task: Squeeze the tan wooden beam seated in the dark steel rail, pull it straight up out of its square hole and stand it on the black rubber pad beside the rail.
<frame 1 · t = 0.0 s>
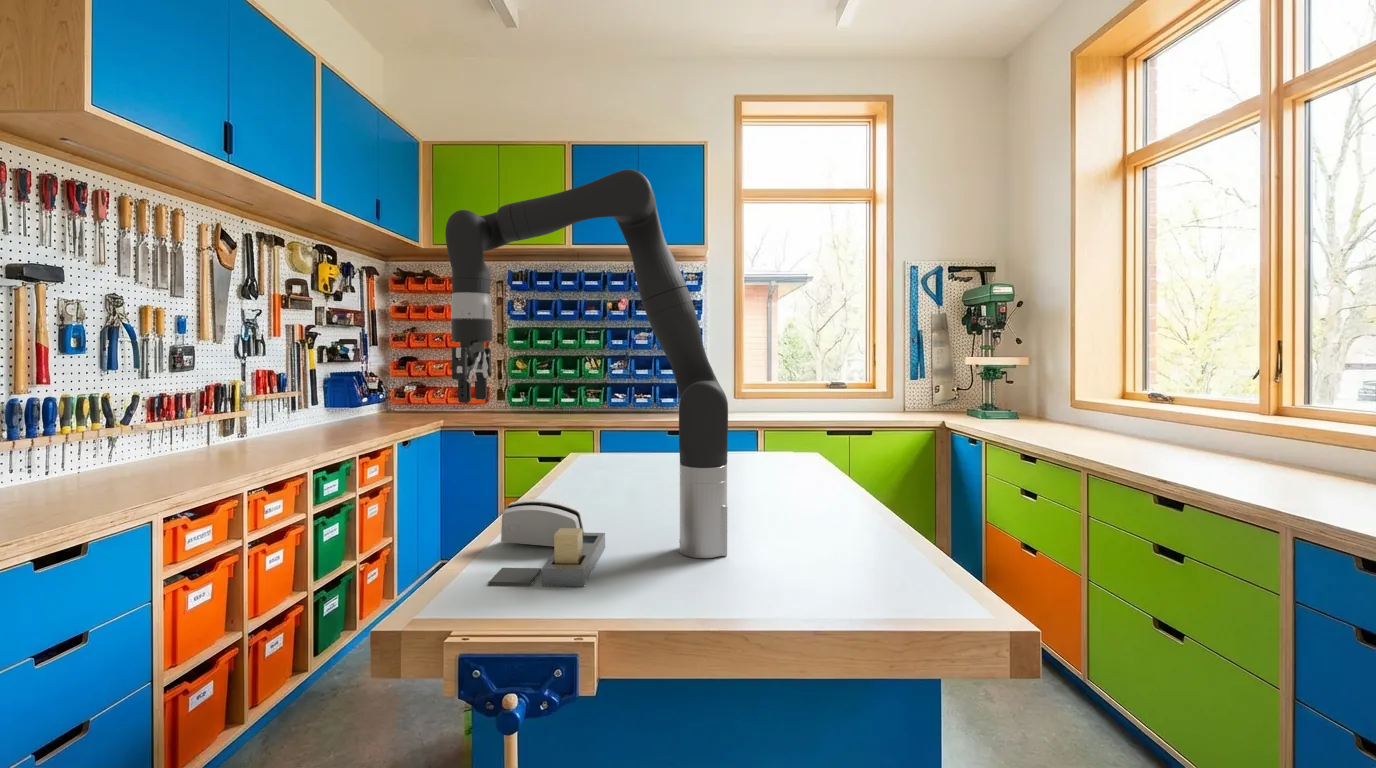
hand: (473, 400, 124), 29 cm above the workbench, tool pointing down, fingers open, 8 cm apart
tan wooden beam: (569, 577, 110), resting in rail
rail: (576, 565, 116), on the workbench
white arched device: (542, 544, 126), point 1 cm above the workbench, touching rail
pad: (515, 578, 109), on the workbench
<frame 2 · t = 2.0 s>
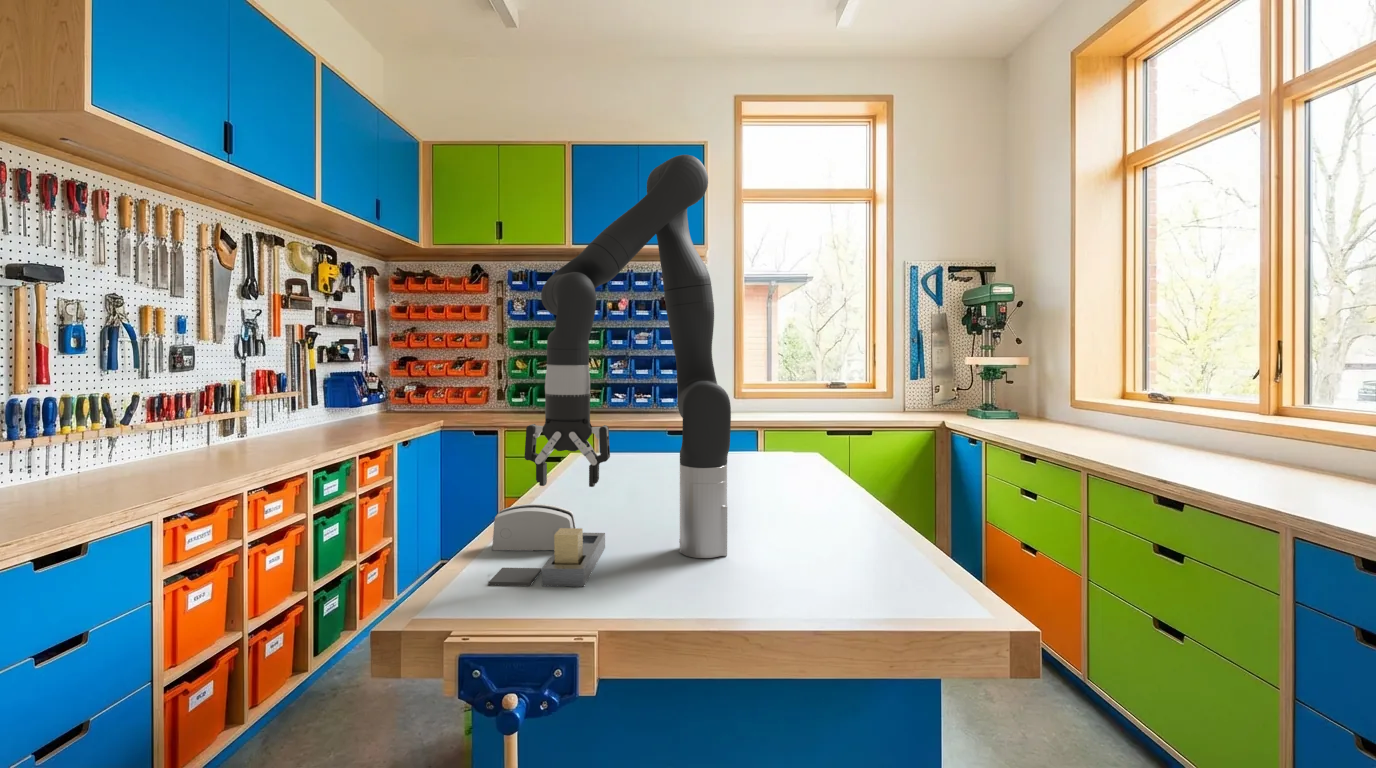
hand: (567, 485, 109), 16 cm above the workbench, tool pointing down, fingers open, 8 cm apart
white arched device: (534, 550, 126), on the workbench, touching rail
everything else where it was.
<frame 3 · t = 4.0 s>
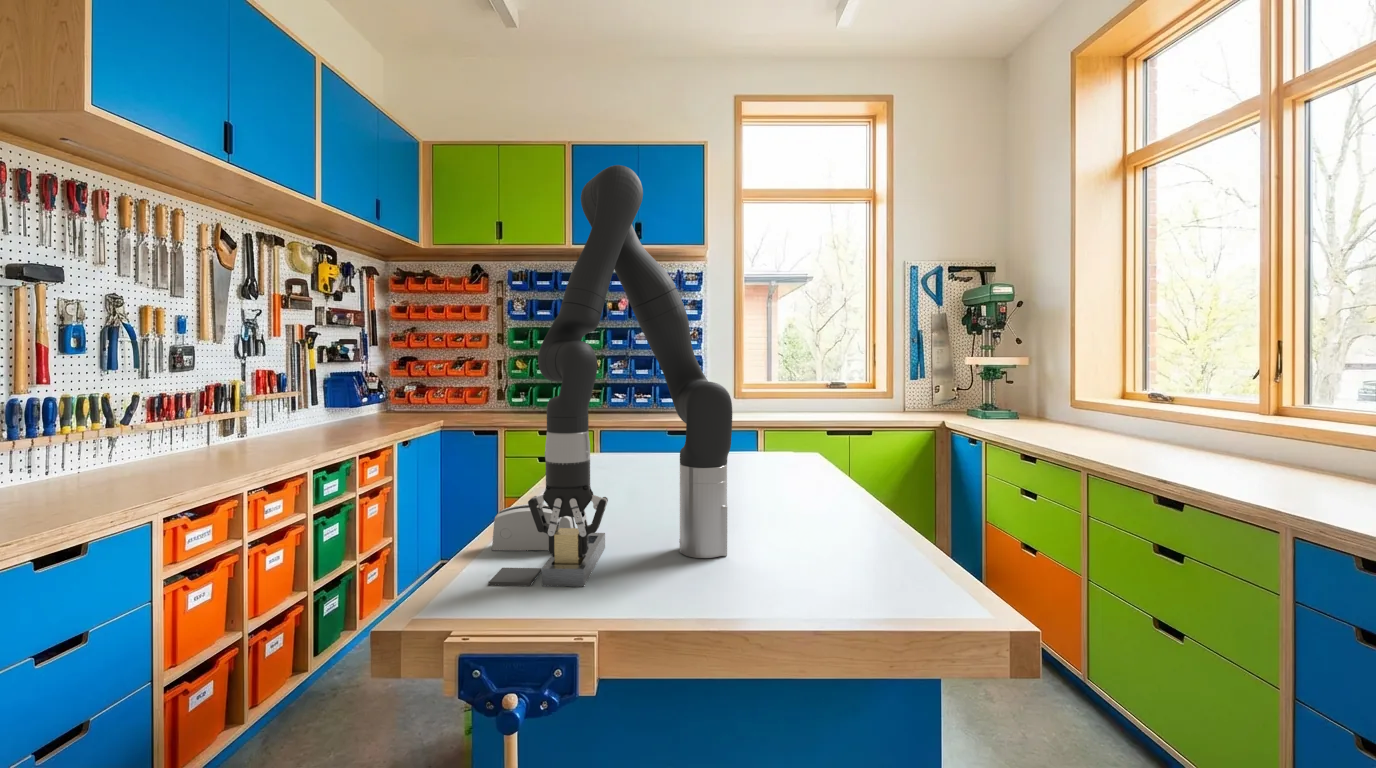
hand: (568, 555, 110), 4 cm above the workbench, tool pointing down, fingers closed on tan wooden beam, 4 cm apart
tan wooden beam: (569, 577, 110), resting in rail, touching gripper
everything else where it was.
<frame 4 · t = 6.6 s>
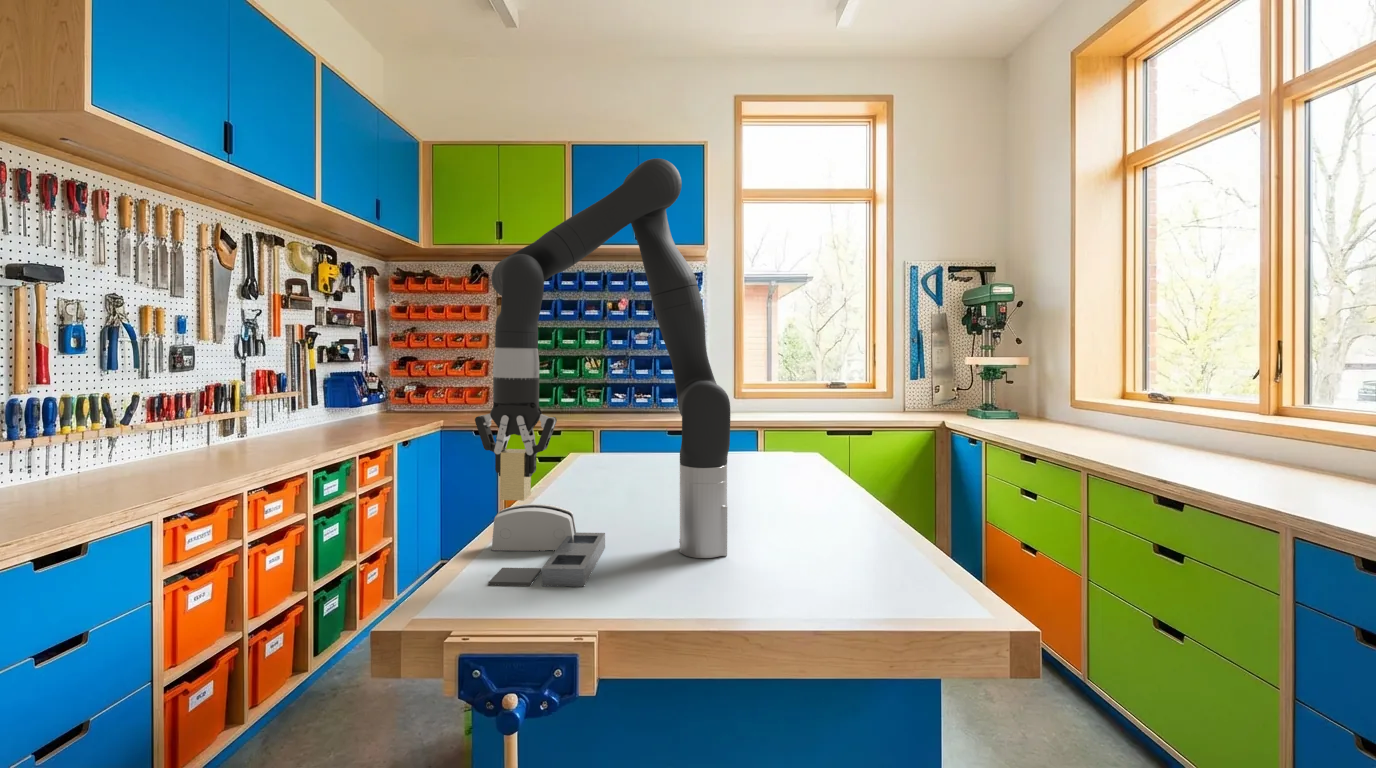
hand: (515, 475, 108), 18 cm above the workbench, tool pointing down, fingers closed on tan wooden beam, 4 cm apart
tan wooden beam: (515, 497, 108), point 14 cm above the workbench, touching gripper
everything else where it was.
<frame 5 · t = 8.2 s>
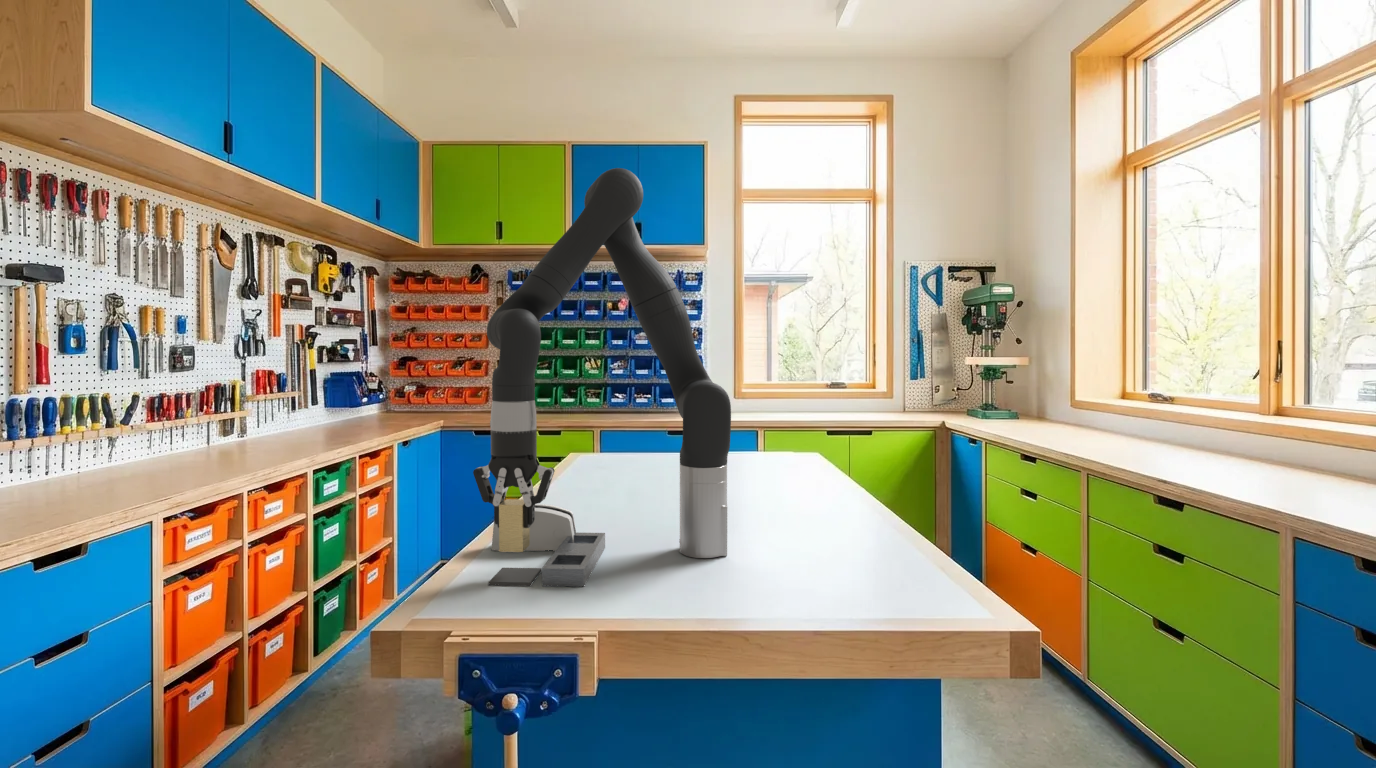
hand: (514, 526, 109), 9 cm above the workbench, tool pointing down, fingers closed on tan wooden beam, 4 cm apart
tan wooden beam: (514, 548, 109), point 5 cm above the workbench, touching gripper
everything else where it was.
when the fingers open (6 cm above the workbench, at t = 9.2 s): tan wooden beam drops 1 cm, resting on pad.
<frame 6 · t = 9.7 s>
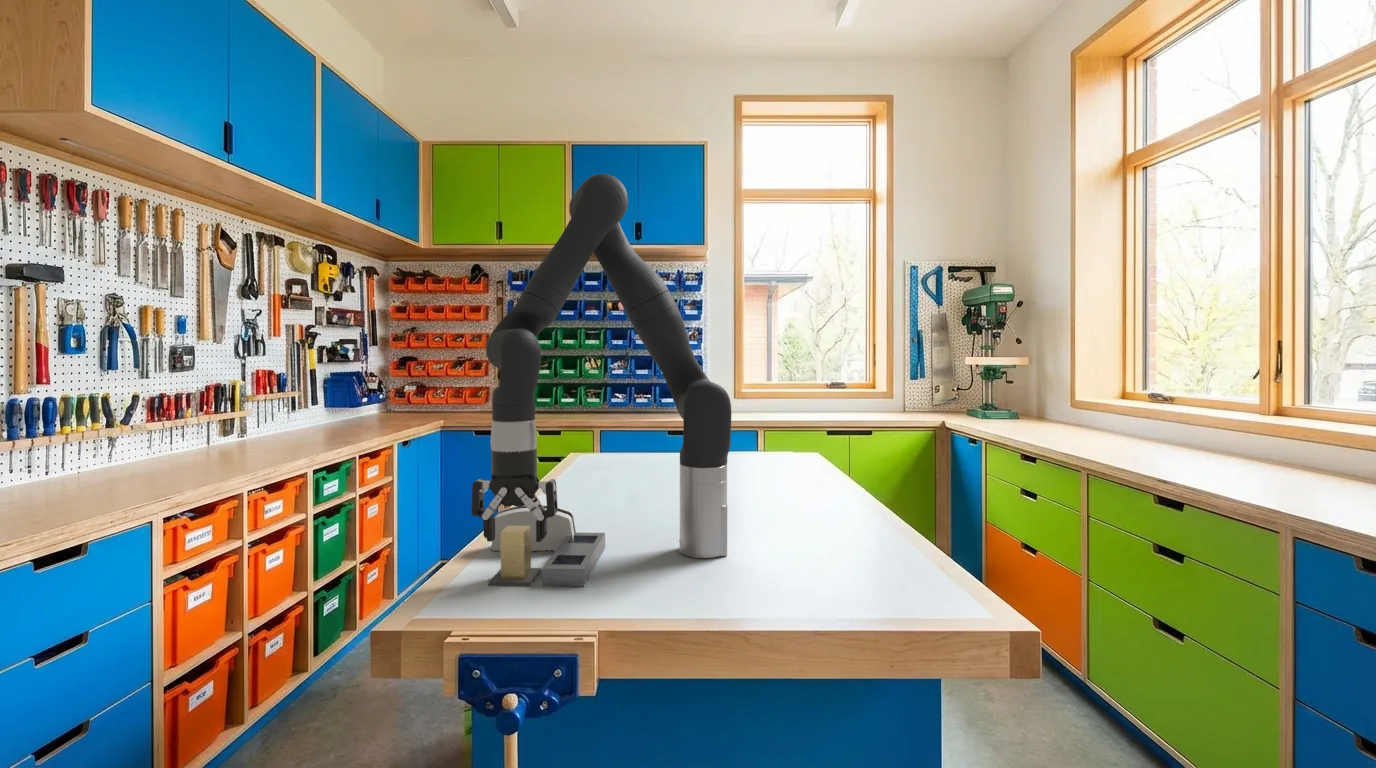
hand: (515, 540, 109), 7 cm above the workbench, tool pointing down, fingers open, 8 cm apart
tan wooden beam: (516, 574, 109), point 1 cm above the workbench, touching pad
everything else where it was.
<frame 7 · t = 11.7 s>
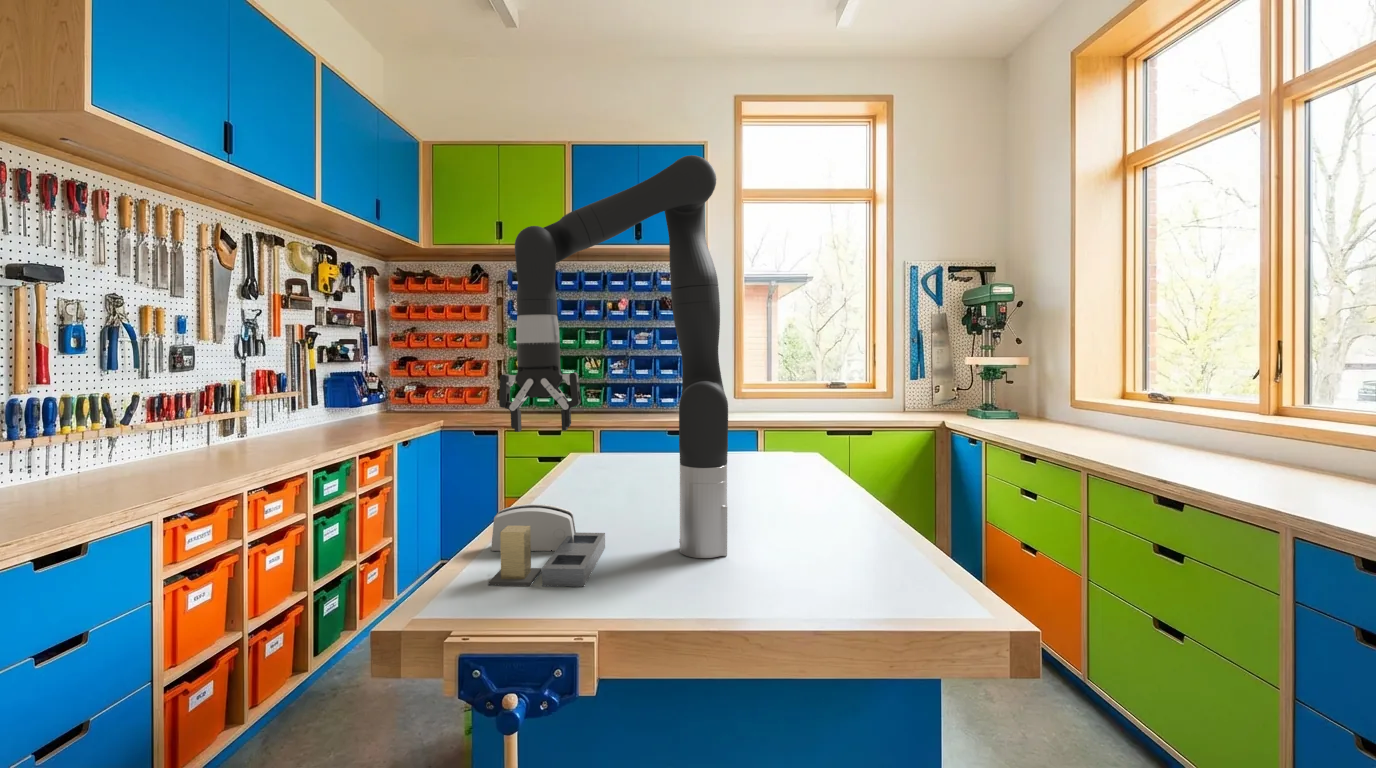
hand: (541, 430, 115), 25 cm above the workbench, tool pointing down, fingers open, 8 cm apart
nothing on the workbench moved.
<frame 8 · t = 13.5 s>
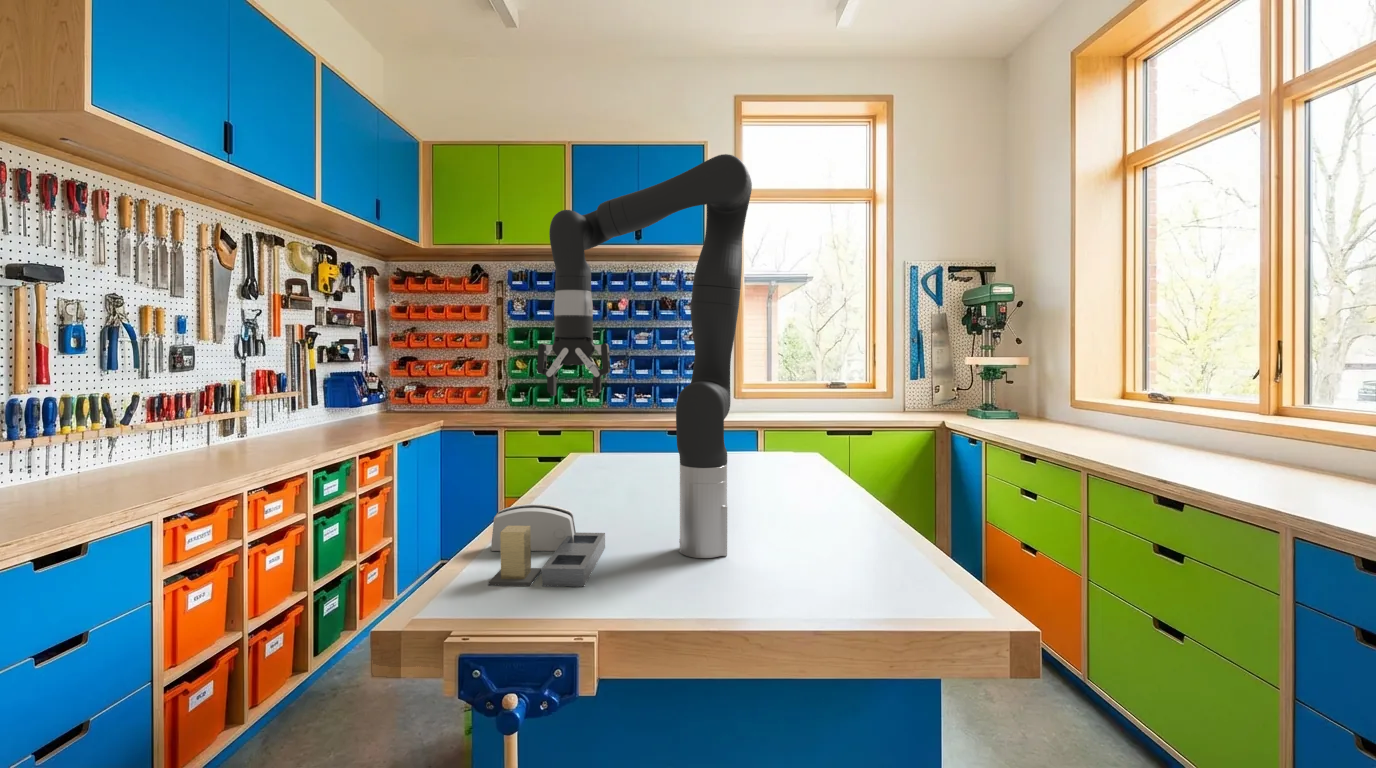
hand: (574, 395, 127), 30 cm above the workbench, tool pointing down, fingers open, 8 cm apart
nothing on the workbench moved.
at the end: tan wooden beam 0.1 cm off-centre on the pad, point 0.6 cm above the pad's base; tan wooden beam tilted 0°; the gripper is holding nothing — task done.
